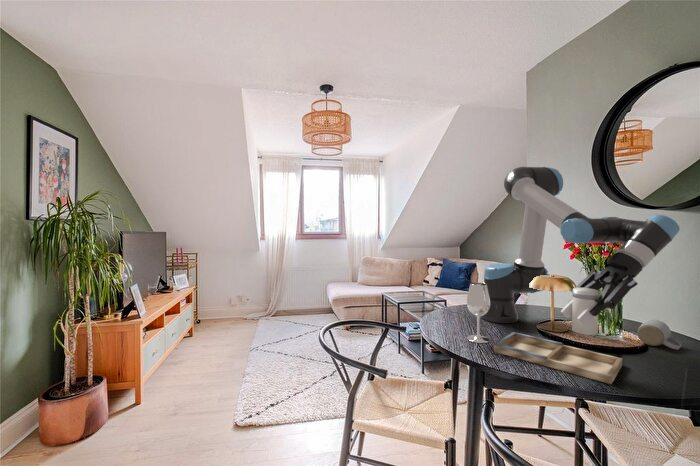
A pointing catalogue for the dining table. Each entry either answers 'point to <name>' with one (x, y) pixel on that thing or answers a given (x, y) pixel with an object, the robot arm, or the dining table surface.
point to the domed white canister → (580, 303)
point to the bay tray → (560, 356)
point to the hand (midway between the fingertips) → (572, 318)
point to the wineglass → (478, 307)
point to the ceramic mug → (657, 334)
